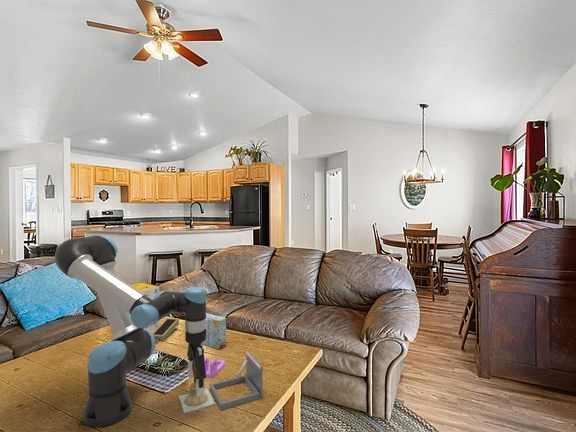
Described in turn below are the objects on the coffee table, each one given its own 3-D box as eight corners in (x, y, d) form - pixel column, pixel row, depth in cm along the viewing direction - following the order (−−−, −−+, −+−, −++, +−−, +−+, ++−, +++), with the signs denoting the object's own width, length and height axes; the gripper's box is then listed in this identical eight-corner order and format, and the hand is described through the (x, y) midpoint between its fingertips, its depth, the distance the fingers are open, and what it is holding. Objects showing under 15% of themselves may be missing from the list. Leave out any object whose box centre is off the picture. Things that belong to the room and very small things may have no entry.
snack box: (226, 346, 171) (226, 317, 170) (219, 350, 166) (219, 320, 165) (198, 337, 182) (198, 310, 181) (190, 340, 177) (190, 313, 177)
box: (180, 325, 195) (179, 317, 194) (162, 348, 173) (161, 339, 172) (167, 325, 196) (166, 317, 195) (147, 347, 174) (146, 339, 173)
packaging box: (133, 337, 182) (133, 292, 181) (117, 331, 190) (116, 288, 189) (159, 328, 195) (159, 286, 194) (143, 322, 204) (142, 282, 203)
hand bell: (195, 408, 118) (195, 365, 117) (180, 401, 122) (179, 359, 121) (212, 397, 125) (212, 355, 124) (197, 390, 129) (196, 350, 128)
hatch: (220, 410, 118) (220, 377, 117) (209, 389, 131) (209, 359, 131) (262, 397, 126) (262, 366, 125) (248, 379, 139) (248, 351, 138)
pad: (184, 413, 116) (184, 412, 116) (178, 397, 125) (178, 396, 125) (215, 404, 121) (215, 403, 121) (207, 389, 131) (207, 388, 131)
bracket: (212, 378, 140) (212, 361, 140) (201, 376, 141) (201, 360, 141) (227, 363, 152) (227, 348, 152) (216, 362, 154) (216, 347, 154)
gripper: (215, 340, 113) (215, 400, 114) (198, 317, 135) (198, 368, 136) (192, 344, 109) (193, 406, 110) (179, 320, 131) (179, 372, 132)
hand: (196, 385), depth 123 cm, fingers open, 13 cm apart
